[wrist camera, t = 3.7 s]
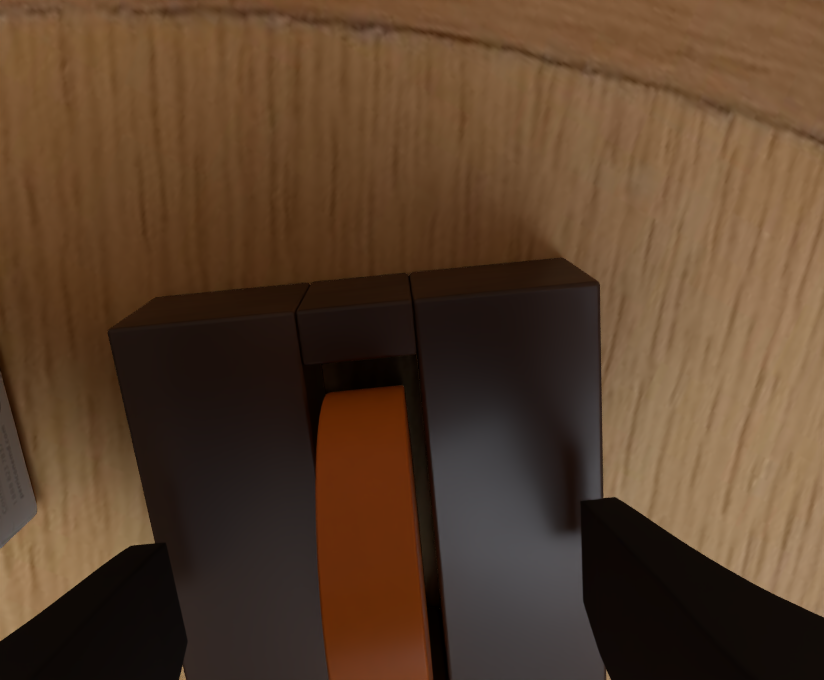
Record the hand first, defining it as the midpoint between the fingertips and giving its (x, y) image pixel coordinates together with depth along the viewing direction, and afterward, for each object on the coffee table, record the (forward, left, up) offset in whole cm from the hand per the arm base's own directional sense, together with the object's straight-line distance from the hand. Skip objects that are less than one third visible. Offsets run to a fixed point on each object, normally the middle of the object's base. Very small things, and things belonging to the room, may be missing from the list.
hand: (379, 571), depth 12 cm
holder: (0, 0, -3) cm, 4 cm away
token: (0, 0, -3) cm, 3 cm away
